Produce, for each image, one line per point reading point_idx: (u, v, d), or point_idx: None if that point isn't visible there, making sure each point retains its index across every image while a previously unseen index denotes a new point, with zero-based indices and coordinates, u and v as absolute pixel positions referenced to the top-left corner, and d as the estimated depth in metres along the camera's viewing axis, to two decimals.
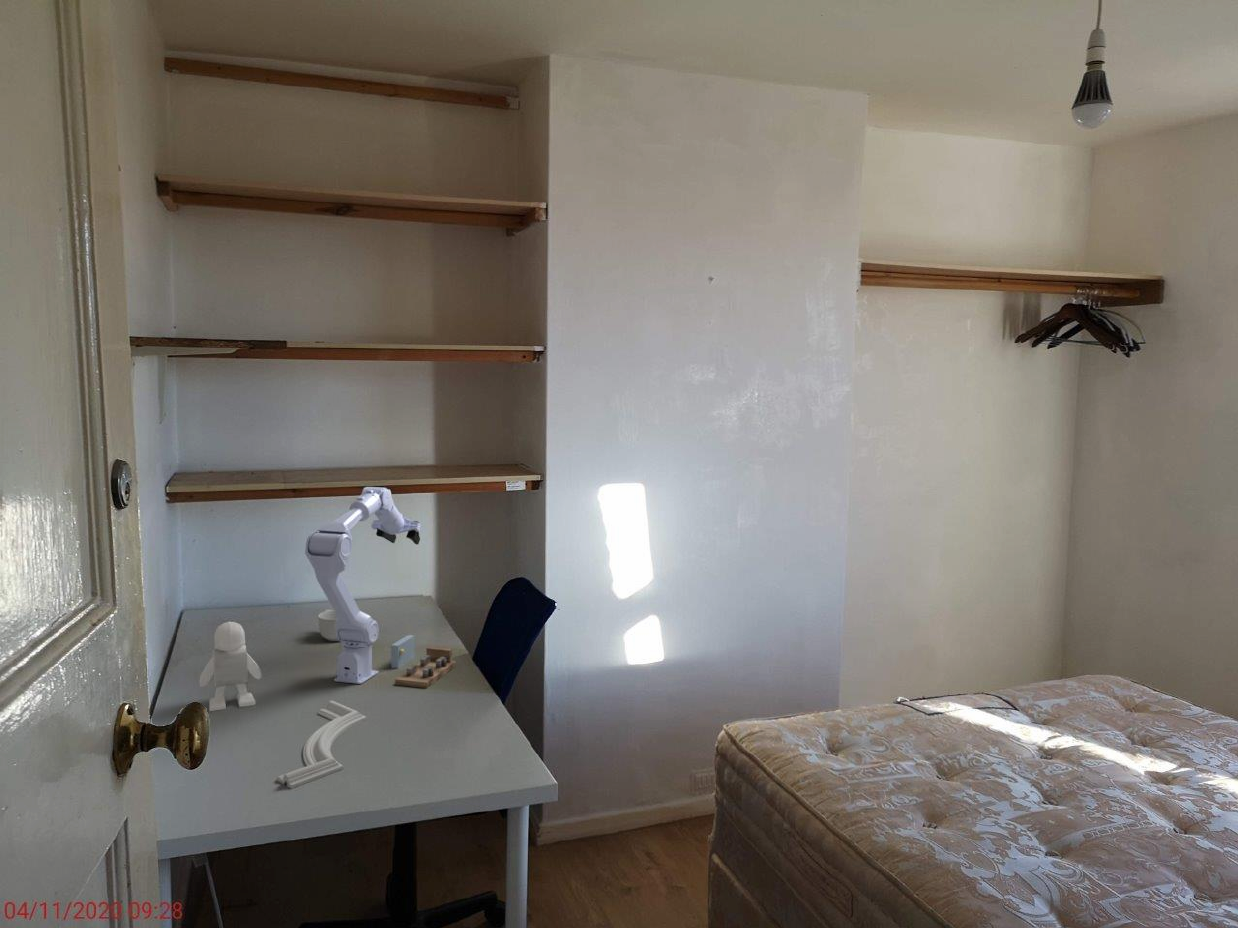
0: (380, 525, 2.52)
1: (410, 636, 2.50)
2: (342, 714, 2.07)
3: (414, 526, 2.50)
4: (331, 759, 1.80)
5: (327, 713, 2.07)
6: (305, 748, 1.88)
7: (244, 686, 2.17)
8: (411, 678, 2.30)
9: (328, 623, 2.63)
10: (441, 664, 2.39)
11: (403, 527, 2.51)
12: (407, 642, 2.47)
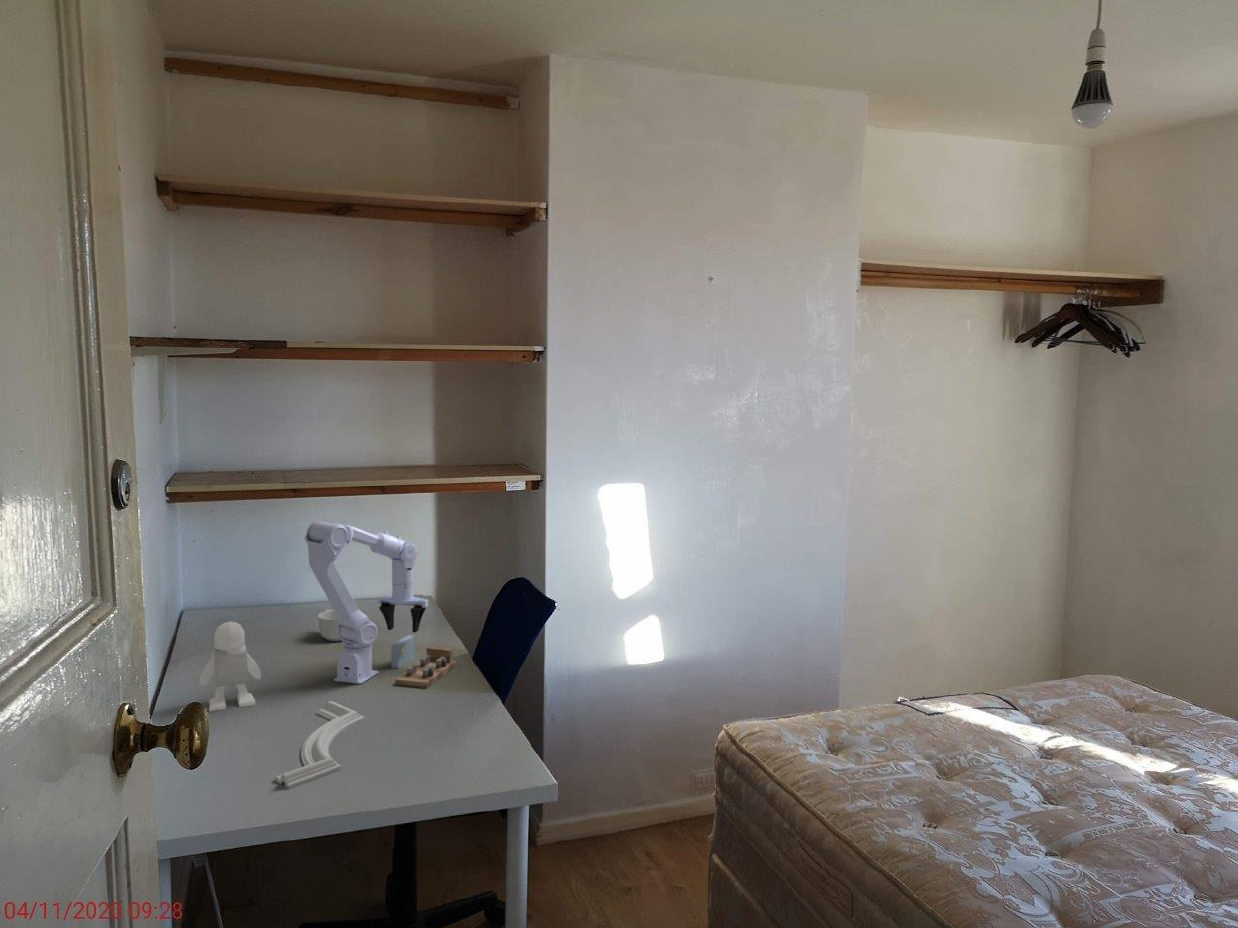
0: (387, 598, 2.46)
1: (410, 636, 2.50)
2: (341, 714, 2.07)
3: (422, 601, 2.44)
4: (329, 759, 1.80)
5: (326, 713, 2.07)
6: (303, 748, 1.88)
7: (244, 686, 2.17)
8: (411, 678, 2.30)
9: (328, 623, 2.63)
10: (441, 664, 2.39)
11: (411, 600, 2.44)
12: (407, 642, 2.47)
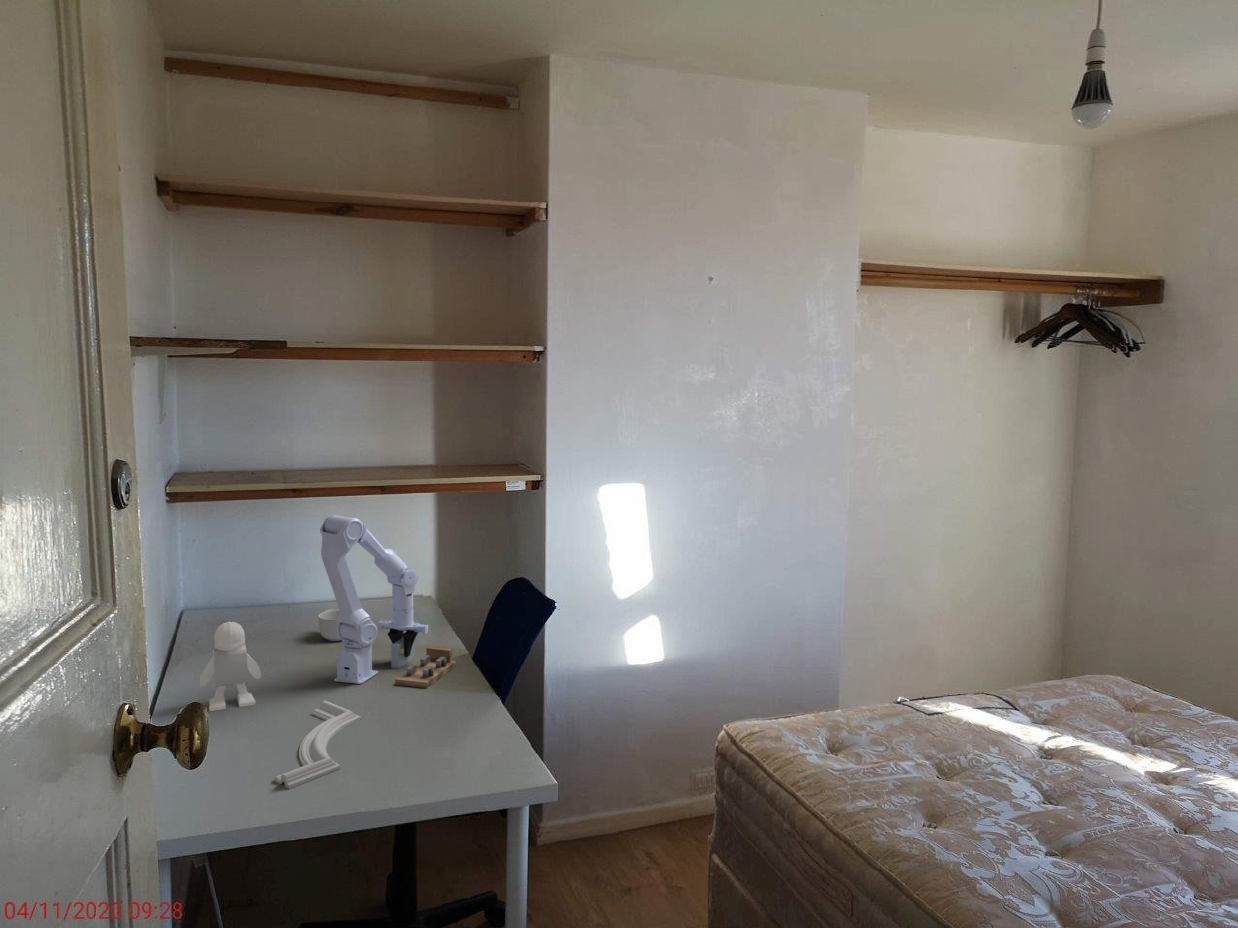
0: (387, 623, 2.47)
1: None
2: (336, 714, 2.06)
3: (422, 626, 2.45)
4: (328, 759, 1.80)
5: (321, 713, 2.07)
6: (301, 748, 1.88)
7: (244, 686, 2.17)
8: (411, 678, 2.30)
9: (328, 623, 2.63)
10: (441, 664, 2.39)
11: (411, 626, 2.45)
12: None
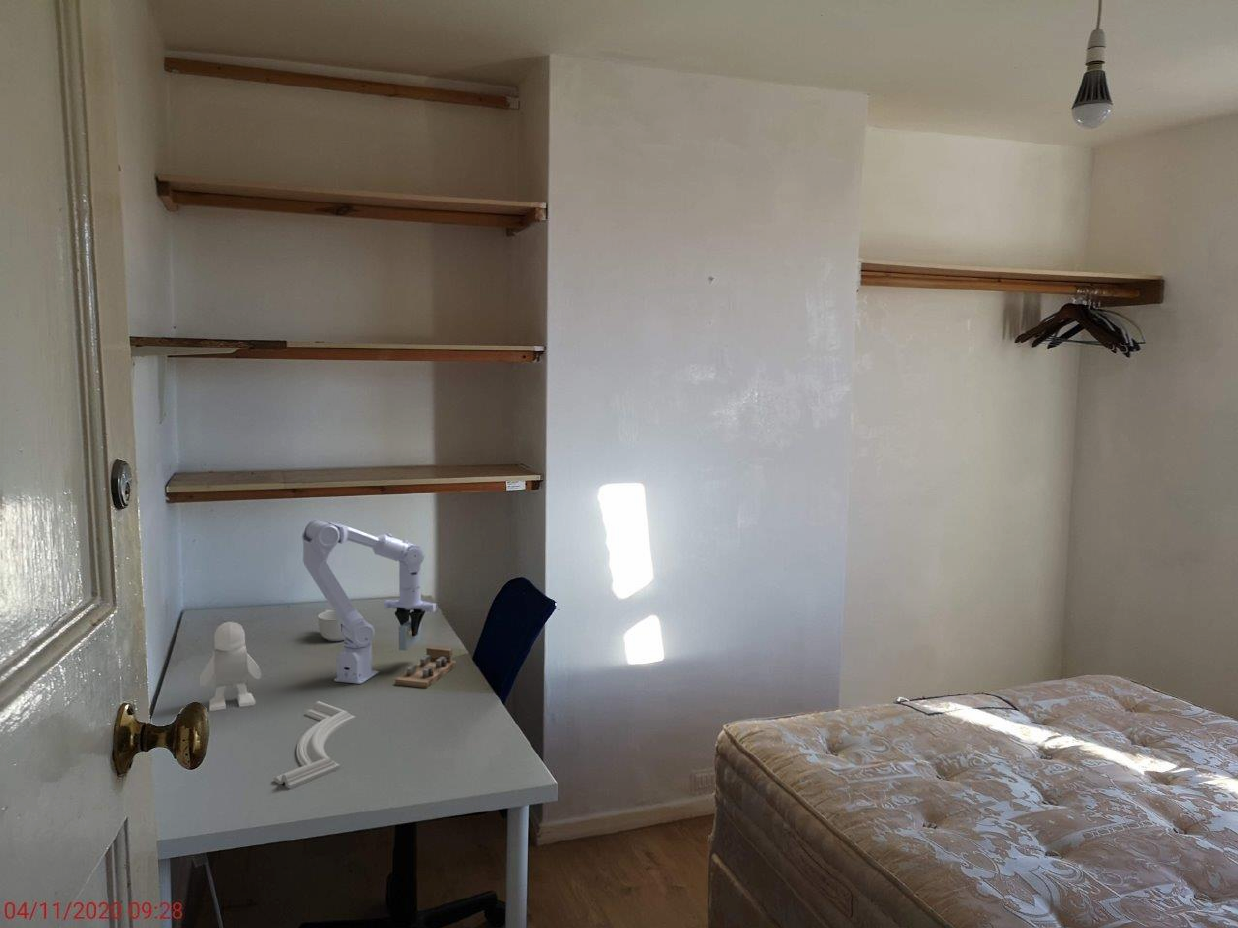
0: (394, 602, 2.43)
1: None
2: (331, 714, 2.06)
3: None
4: (328, 758, 1.80)
5: (315, 714, 2.07)
6: (298, 748, 1.87)
7: (244, 686, 2.17)
8: (411, 678, 2.30)
9: (328, 623, 2.63)
10: (441, 664, 2.39)
11: (418, 604, 2.41)
12: None
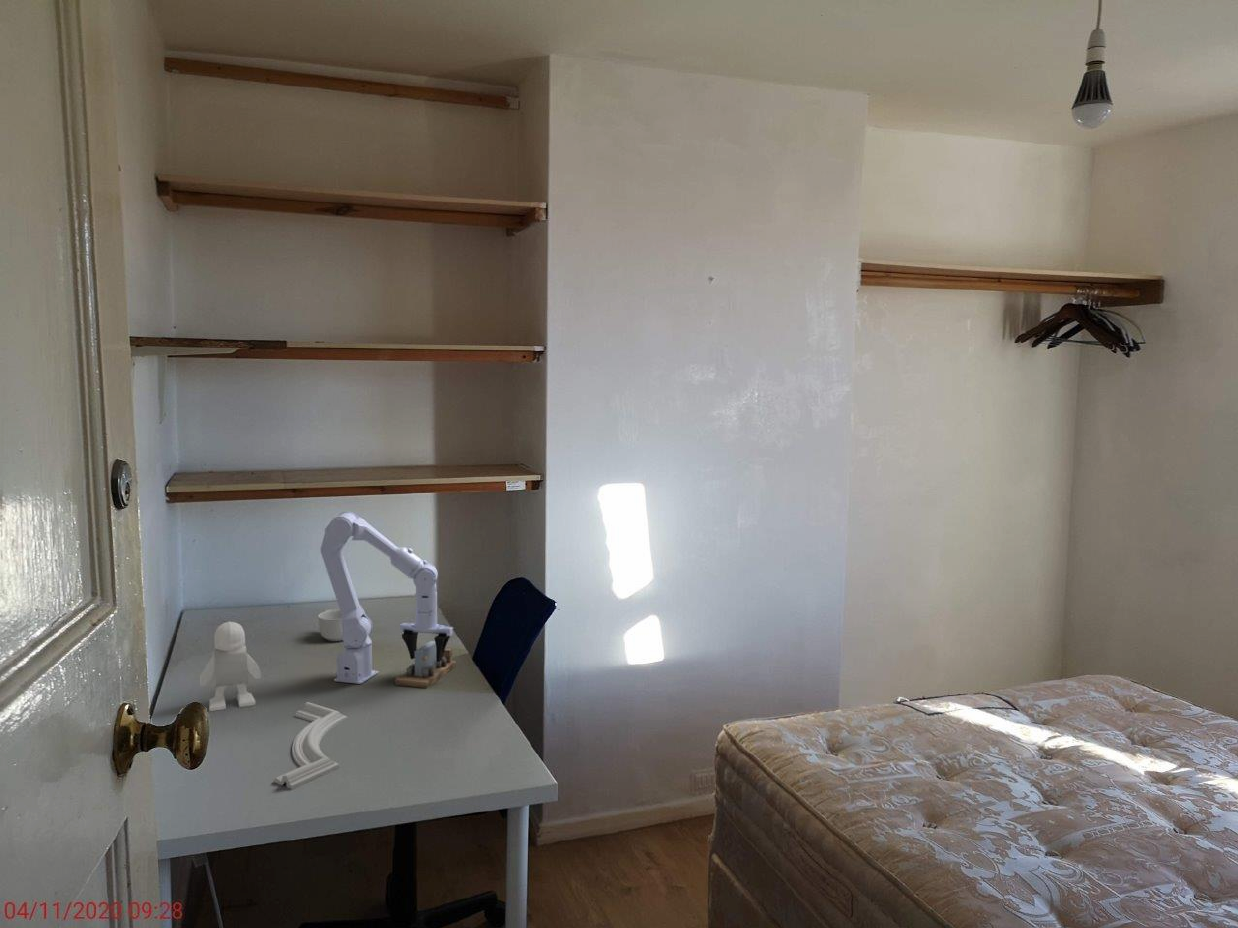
0: (410, 626, 2.36)
1: (433, 642, 2.40)
2: (322, 715, 2.06)
3: (447, 629, 2.34)
4: (327, 758, 1.80)
5: (306, 715, 2.06)
6: (294, 749, 1.87)
7: (244, 686, 2.17)
8: (411, 678, 2.30)
9: (328, 623, 2.63)
10: (441, 664, 2.39)
11: (435, 628, 2.34)
12: (431, 648, 2.37)
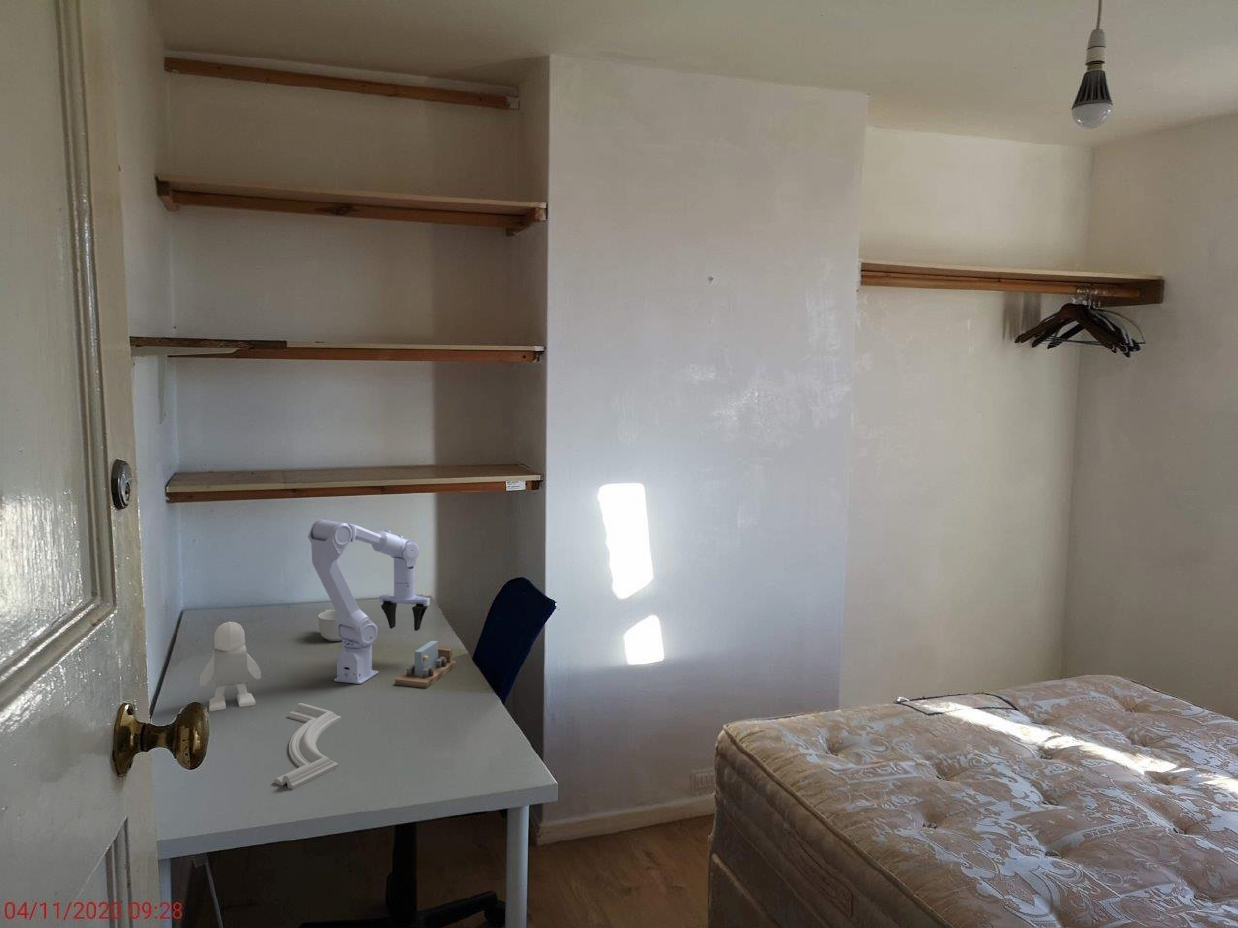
0: (389, 596, 2.47)
1: (433, 642, 2.40)
2: (315, 715, 2.05)
3: None
4: (326, 758, 1.80)
5: (299, 715, 2.05)
6: (291, 750, 1.87)
7: (244, 686, 2.17)
8: (411, 678, 2.30)
9: (328, 623, 2.63)
10: (441, 664, 2.39)
11: (412, 598, 2.45)
12: (431, 648, 2.37)
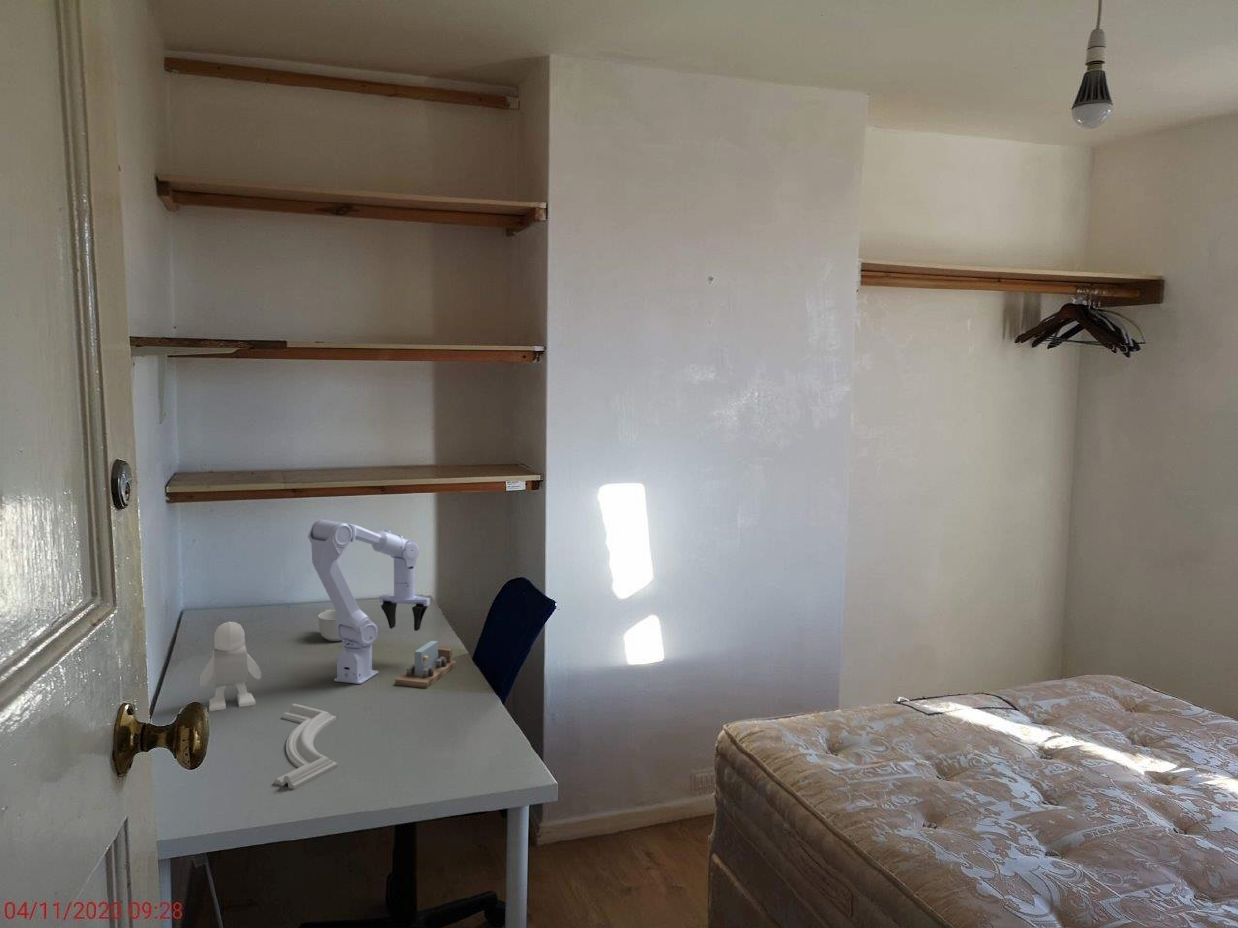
0: (389, 596, 2.47)
1: (433, 642, 2.40)
2: (310, 716, 2.05)
3: None
4: (325, 757, 1.80)
5: (293, 716, 2.05)
6: (289, 750, 1.86)
7: (244, 686, 2.17)
8: (411, 678, 2.30)
9: (328, 623, 2.63)
10: (441, 664, 2.39)
11: (412, 598, 2.45)
12: (431, 648, 2.37)
